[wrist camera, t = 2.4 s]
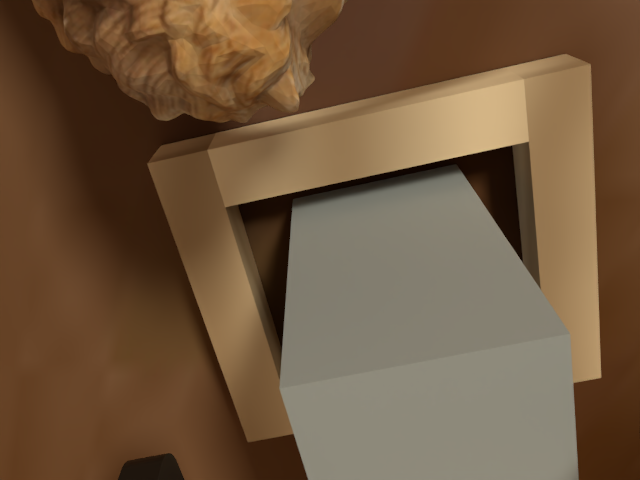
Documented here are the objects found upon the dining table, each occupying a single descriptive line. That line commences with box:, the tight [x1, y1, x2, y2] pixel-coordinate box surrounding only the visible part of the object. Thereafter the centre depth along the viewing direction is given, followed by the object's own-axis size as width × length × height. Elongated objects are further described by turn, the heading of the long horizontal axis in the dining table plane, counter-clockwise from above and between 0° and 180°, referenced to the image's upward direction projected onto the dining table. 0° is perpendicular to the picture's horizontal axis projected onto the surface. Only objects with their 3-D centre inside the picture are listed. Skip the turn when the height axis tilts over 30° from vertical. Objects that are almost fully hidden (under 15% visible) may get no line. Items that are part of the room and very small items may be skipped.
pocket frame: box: [147, 54, 601, 442], centre depth 17 cm, size 10×9×2 cm
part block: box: [279, 164, 579, 480], centre depth 14 cm, size 4×4×8 cm
